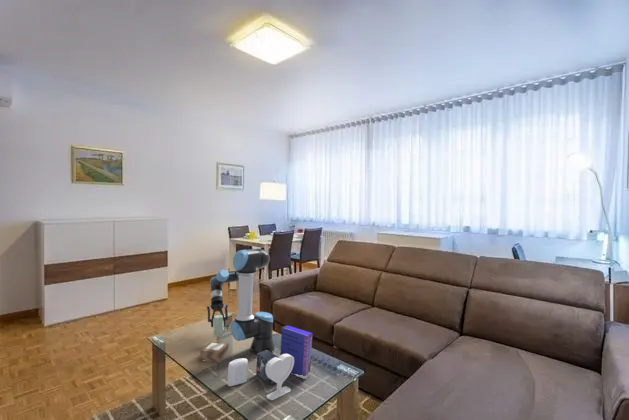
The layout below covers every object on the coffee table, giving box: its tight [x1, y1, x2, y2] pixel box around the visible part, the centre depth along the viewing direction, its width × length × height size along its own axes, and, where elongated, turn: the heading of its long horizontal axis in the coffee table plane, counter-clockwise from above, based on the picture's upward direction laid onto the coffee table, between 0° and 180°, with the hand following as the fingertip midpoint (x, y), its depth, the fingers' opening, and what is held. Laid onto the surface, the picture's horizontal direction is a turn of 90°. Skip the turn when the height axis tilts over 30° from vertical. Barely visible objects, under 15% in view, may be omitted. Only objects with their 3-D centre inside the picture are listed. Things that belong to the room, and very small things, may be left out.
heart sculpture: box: [265, 354, 294, 401], centre depth 157 cm, size 16×5×18 cm, turn 135°
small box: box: [255, 350, 280, 386], centre depth 170 cm, size 13×7×12 cm, turn 45°
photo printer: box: [227, 357, 249, 387], centre depth 164 cm, size 10×4×12 cm, turn 123°
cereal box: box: [279, 325, 313, 376], centre depth 176 cm, size 17×5×24 cm, turn 58°
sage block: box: [213, 314, 223, 338], centre depth 205 cm, size 5×5×12 cm
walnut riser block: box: [200, 340, 230, 364], centre depth 190 cm, size 12×12×6 cm
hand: (218, 331), depth 202 cm, fingers closed on sage block, 5 cm apart
